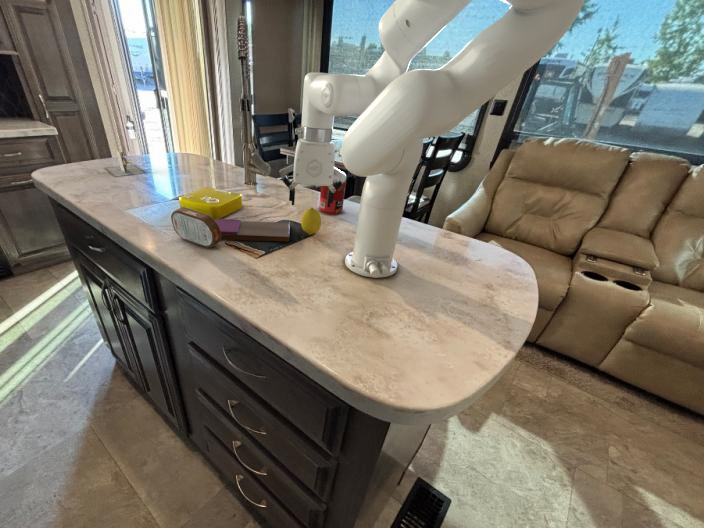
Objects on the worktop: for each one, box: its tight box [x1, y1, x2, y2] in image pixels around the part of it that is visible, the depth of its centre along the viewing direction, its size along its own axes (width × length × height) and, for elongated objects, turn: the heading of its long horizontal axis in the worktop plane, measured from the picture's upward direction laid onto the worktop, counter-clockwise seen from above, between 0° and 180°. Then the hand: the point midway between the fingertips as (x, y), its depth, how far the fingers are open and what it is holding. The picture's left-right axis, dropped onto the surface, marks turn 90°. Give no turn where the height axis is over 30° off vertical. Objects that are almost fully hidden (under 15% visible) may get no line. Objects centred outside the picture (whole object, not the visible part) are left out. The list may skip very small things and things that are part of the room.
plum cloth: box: [216, 218, 242, 234], centre depth 91 cm, size 9×7×1 cm
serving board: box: [215, 220, 290, 243], centre depth 92 cm, size 10×22×2 cm, turn 92°
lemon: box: [300, 207, 322, 236], centre depth 91 cm, size 6×6×8 cm
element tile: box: [178, 186, 243, 220], centre depth 105 cm, size 15×15×5 cm
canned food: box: [318, 174, 347, 216], centre depth 108 cm, size 8×8×11 cm
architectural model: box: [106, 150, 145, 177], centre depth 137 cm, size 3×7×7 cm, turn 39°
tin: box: [170, 207, 222, 249], centre depth 83 cm, size 15×3×8 cm, turn 59°
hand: (310, 204), depth 88 cm, fingers open, 9 cm apart
